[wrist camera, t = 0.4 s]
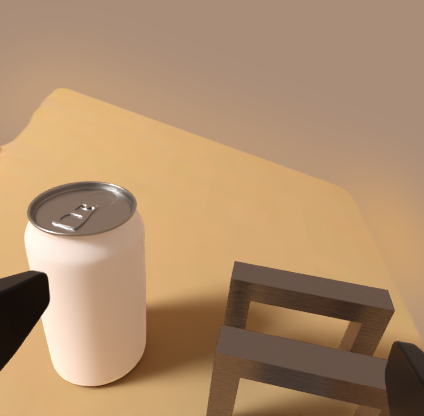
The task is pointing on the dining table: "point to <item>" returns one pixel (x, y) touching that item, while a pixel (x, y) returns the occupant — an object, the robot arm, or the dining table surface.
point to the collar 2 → (295, 371)
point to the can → (90, 278)
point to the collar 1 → (312, 302)
